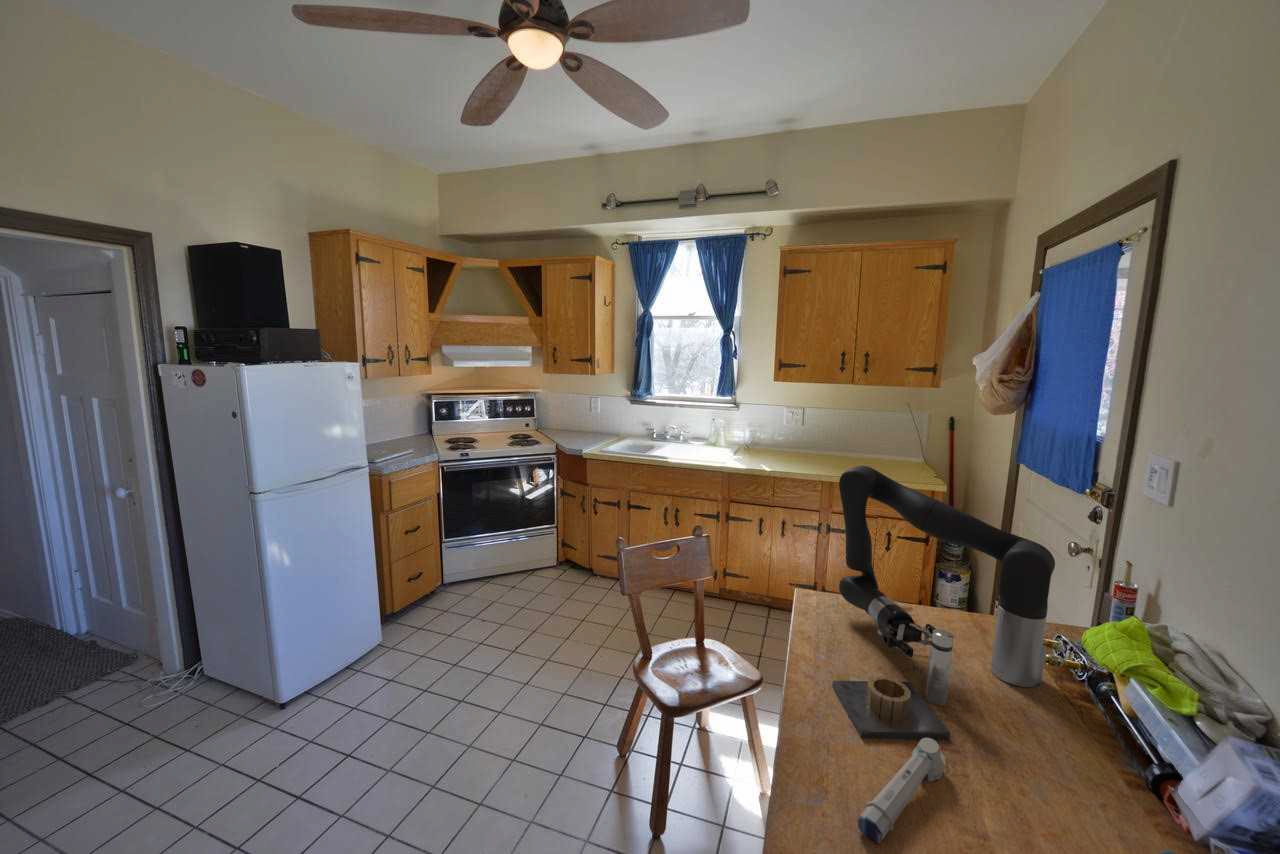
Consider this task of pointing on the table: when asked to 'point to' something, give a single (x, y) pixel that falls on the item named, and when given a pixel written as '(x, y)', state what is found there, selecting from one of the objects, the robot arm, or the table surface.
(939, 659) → the silver tall cylinder
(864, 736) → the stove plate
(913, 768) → the grey faceted piece
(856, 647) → the table surface
